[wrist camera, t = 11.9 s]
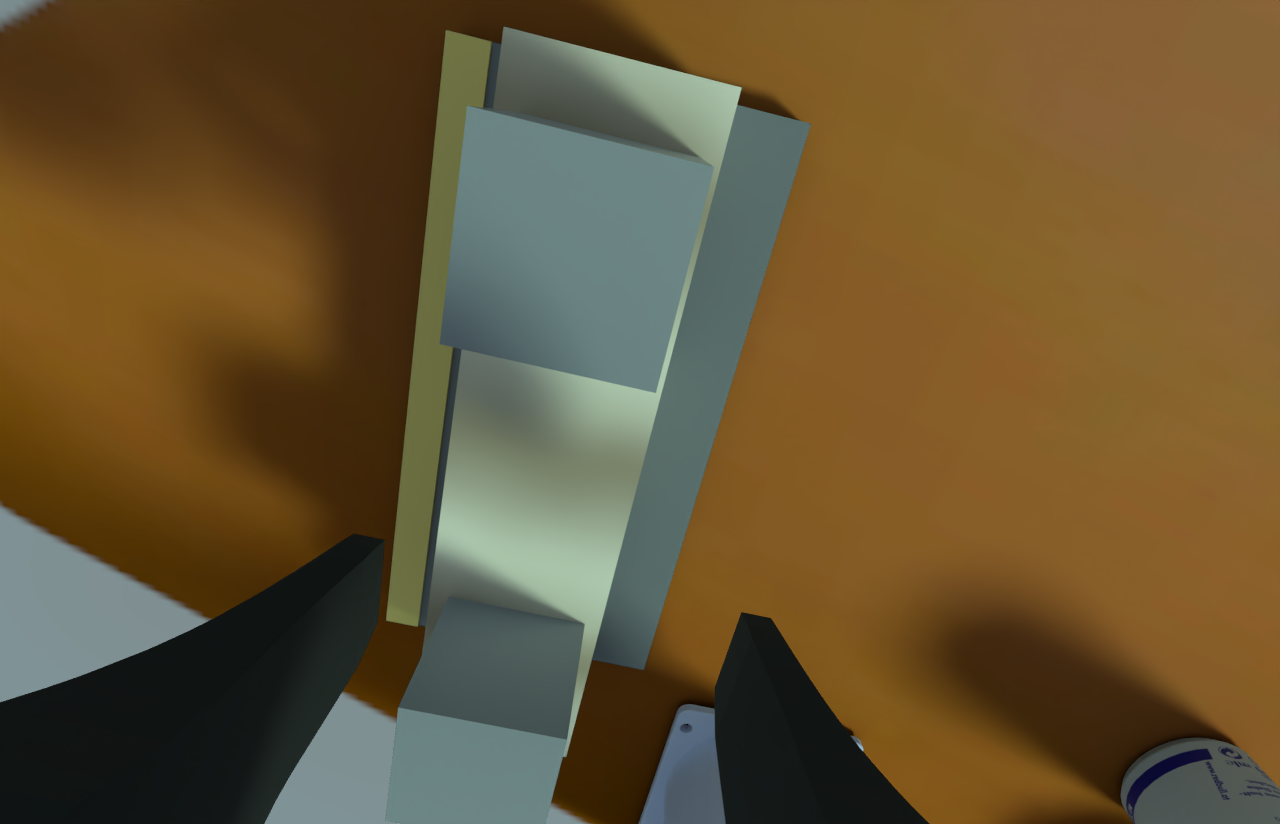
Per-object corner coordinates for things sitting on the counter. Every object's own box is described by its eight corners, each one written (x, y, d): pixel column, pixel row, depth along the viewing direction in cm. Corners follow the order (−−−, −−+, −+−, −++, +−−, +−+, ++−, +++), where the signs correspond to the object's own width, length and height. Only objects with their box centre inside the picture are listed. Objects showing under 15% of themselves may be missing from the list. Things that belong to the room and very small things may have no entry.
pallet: (581, 655, 26) (566, 757, 22) (453, 630, 25) (412, 728, 21) (723, 97, 18) (741, 88, 14) (540, 50, 18) (503, 26, 13)
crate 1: (657, 332, 16) (655, 392, 12) (491, 293, 16) (439, 344, 12) (700, 157, 14) (714, 166, 11) (517, 111, 14) (467, 106, 10)
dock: (644, 651, 27) (643, 671, 26) (396, 601, 26) (386, 620, 25) (803, 123, 19) (811, 123, 18) (457, 35, 18) (445, 29, 17)
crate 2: (560, 721, 21) (538, 848, 17) (434, 697, 21) (385, 820, 17) (585, 623, 19) (567, 739, 16) (448, 596, 19) (398, 707, 15)
